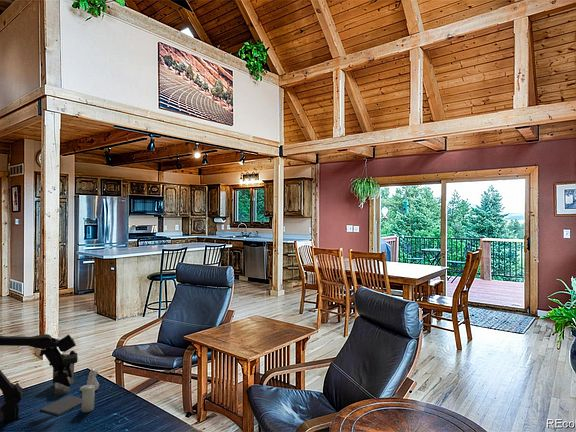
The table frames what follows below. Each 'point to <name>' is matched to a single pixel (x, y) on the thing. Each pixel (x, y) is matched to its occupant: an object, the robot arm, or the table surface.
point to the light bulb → (88, 398)
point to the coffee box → (71, 372)
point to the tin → (61, 388)
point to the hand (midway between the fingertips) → (70, 381)
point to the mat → (62, 405)
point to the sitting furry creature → (92, 379)
